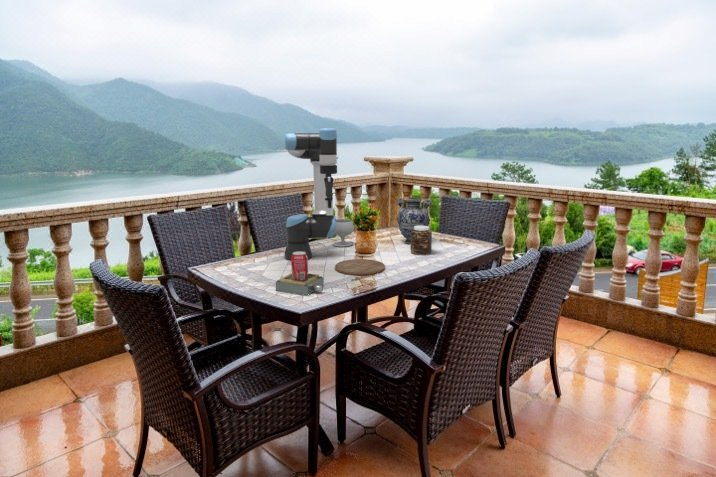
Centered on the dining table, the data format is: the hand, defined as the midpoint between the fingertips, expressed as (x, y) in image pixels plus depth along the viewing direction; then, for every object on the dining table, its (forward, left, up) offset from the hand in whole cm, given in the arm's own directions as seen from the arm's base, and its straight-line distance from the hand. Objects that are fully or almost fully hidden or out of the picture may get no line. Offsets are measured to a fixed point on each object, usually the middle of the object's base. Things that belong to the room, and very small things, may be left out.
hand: (329, 212), depth 212 cm
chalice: (-27, +66, -32) cm, 78 cm away
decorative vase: (+10, +89, -32) cm, 95 cm away
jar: (+22, +67, -32) cm, 77 cm away
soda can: (-7, -15, -28) cm, 32 cm away
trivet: (+4, +24, -32) cm, 40 cm away
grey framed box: (-5, -15, -32) cm, 35 cm away
